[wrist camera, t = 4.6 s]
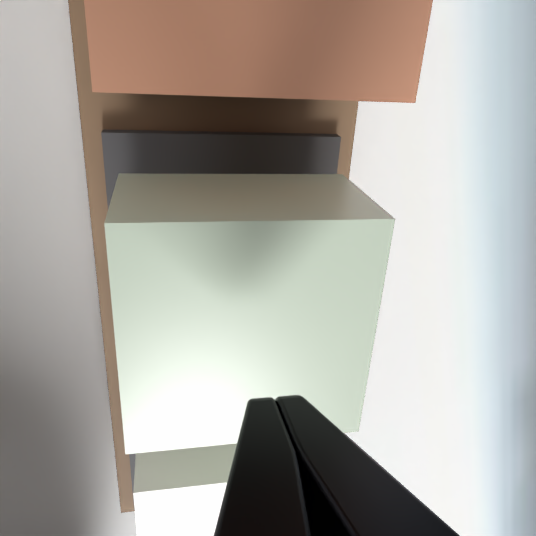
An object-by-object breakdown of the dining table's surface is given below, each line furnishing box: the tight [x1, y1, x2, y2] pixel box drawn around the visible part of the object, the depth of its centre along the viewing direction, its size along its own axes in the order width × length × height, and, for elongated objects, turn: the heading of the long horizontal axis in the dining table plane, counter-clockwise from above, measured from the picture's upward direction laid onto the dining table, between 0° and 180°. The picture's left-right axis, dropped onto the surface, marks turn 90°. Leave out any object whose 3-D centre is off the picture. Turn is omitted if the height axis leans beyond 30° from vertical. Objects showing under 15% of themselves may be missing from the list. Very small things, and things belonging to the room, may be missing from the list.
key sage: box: [104, 173, 395, 454], centre depth 11 cm, size 5×5×3 cm
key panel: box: [68, 0, 358, 513], centre depth 15 cm, size 7×21×3 cm, turn 177°
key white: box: [133, 443, 237, 536], centre depth 15 cm, size 5×5×3 cm
